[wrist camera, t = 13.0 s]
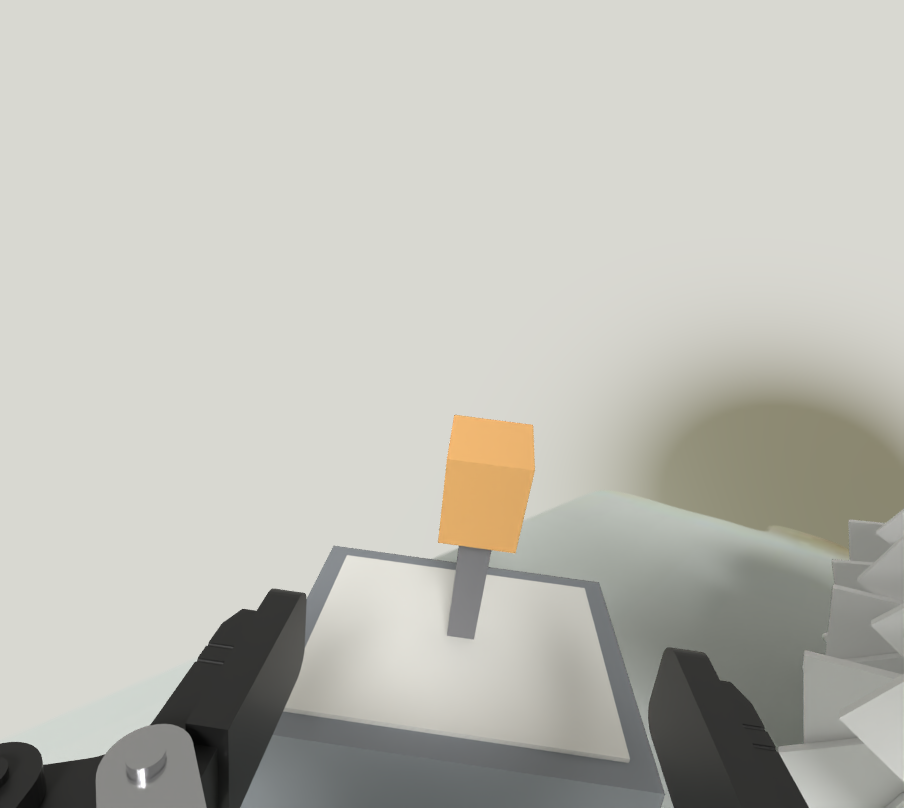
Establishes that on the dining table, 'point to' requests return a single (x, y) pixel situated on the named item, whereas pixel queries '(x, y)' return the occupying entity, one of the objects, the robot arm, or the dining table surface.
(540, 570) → the dining table surface
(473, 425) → the lever
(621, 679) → the block
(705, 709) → the robot arm
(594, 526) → the dining table surface
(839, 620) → the spiral staircase
